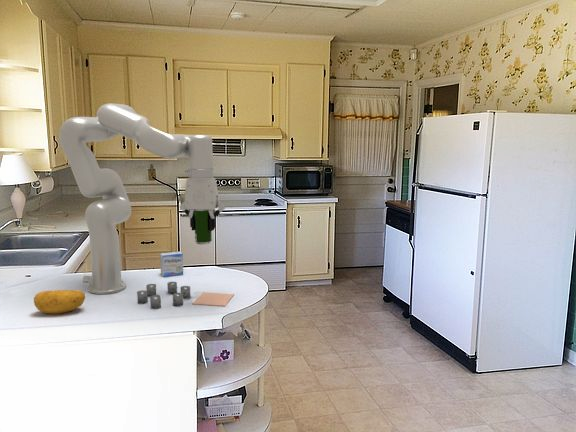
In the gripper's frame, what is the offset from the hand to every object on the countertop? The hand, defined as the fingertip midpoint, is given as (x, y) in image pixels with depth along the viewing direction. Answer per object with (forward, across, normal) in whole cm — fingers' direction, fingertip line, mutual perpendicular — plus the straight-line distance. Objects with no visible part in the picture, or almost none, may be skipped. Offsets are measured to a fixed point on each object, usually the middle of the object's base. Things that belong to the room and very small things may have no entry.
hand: (203, 229), depth 157 cm
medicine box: (+24, -22, +24) cm, 41 cm away
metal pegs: (+24, -13, -2) cm, 27 cm away
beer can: (+5, 0, 0) cm, 5 cm away
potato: (+24, -40, -19) cm, 50 cm away
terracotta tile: (+24, +2, +1) cm, 24 cm away
